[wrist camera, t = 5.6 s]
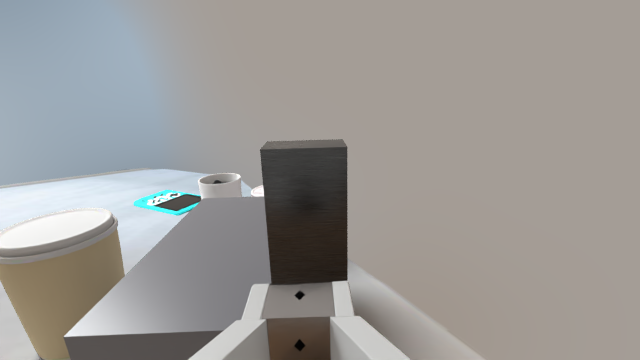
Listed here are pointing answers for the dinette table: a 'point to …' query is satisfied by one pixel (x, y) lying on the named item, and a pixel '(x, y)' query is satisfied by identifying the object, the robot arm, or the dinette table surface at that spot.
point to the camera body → (181, 287)
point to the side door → (306, 210)
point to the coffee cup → (59, 272)
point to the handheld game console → (169, 202)
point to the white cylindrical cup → (220, 186)
